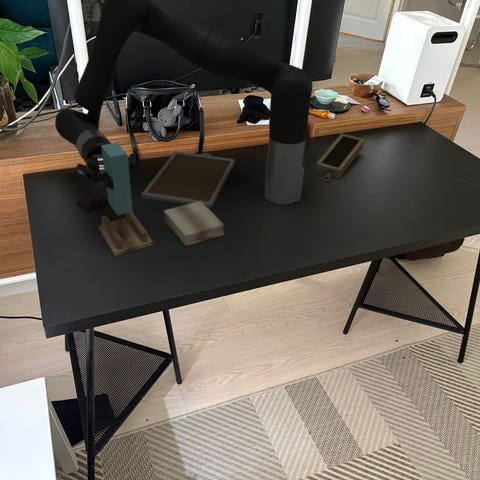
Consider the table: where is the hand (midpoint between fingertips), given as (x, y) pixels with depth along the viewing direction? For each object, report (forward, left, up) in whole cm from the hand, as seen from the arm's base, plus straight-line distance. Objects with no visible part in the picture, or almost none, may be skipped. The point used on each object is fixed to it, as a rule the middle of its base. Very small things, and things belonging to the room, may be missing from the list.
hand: (121, 183), depth 102 cm
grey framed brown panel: (-15, -31, -16) cm, 39 cm away
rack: (+1, -2, -16) cm, 16 cm away
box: (-59, -37, -16) cm, 71 cm away
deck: (-15, -5, -16) cm, 22 cm away
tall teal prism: (+1, -3, -7) cm, 8 cm away
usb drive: (+8, -19, -16) cm, 27 cm away
